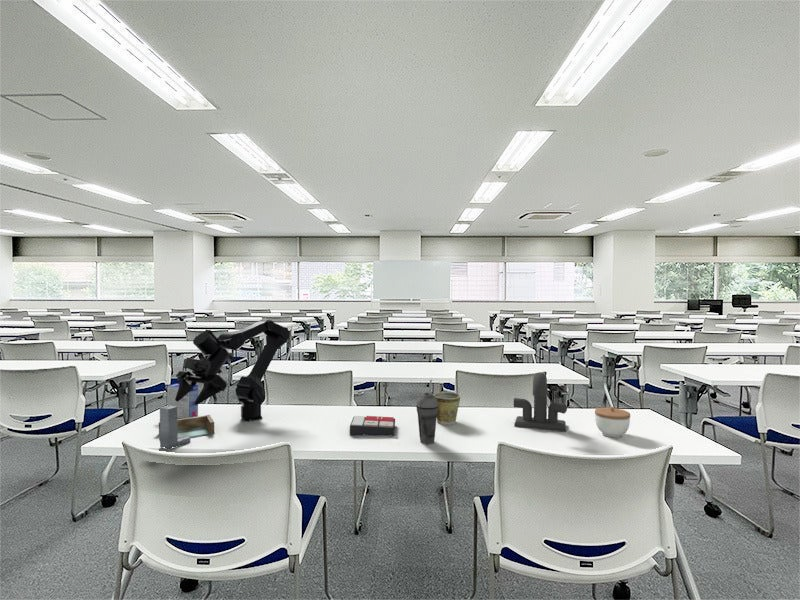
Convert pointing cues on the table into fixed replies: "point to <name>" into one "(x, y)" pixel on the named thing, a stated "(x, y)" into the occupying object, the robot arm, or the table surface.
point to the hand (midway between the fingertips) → (185, 402)
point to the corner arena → (194, 426)
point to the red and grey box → (372, 426)
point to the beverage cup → (427, 416)
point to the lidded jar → (612, 421)
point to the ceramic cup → (447, 407)
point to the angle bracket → (170, 428)
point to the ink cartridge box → (183, 401)
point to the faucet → (540, 409)
